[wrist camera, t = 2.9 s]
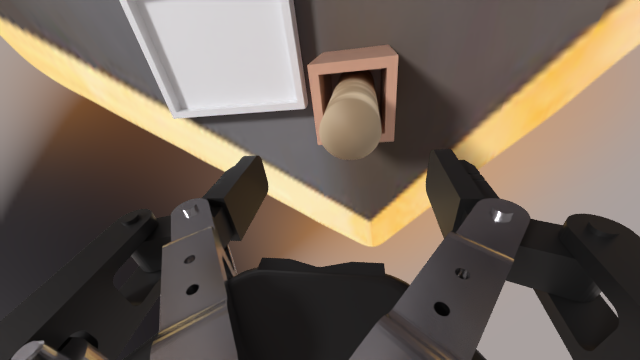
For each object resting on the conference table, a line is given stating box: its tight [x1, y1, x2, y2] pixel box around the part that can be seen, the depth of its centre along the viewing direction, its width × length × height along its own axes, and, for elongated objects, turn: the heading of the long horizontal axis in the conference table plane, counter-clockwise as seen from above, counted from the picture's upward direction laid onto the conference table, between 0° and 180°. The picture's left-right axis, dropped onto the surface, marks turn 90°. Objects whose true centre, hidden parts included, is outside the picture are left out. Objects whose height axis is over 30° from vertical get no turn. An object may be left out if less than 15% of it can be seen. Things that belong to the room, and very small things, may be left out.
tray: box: [119, 0, 308, 119], centre depth 27 cm, size 18×14×2 cm
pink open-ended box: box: [307, 45, 398, 145], centre depth 24 cm, size 7×7×9 cm
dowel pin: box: [319, 70, 382, 160], centre depth 21 cm, size 4×4×14 cm
